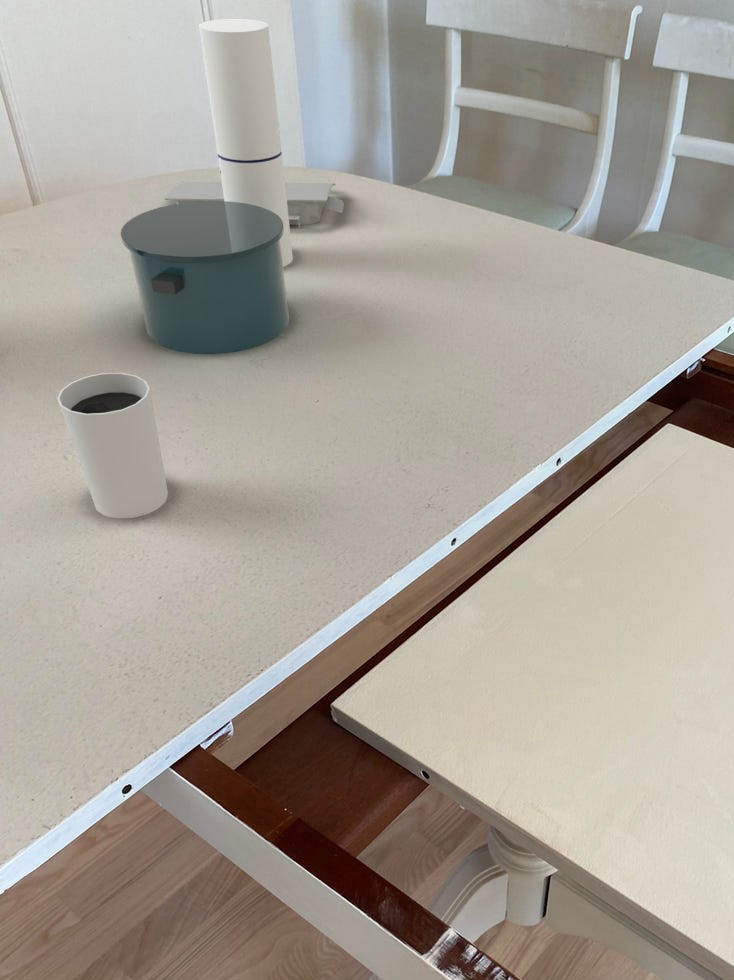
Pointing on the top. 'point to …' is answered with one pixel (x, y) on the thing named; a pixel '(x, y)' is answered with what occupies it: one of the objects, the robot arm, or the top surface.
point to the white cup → (116, 442)
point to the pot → (209, 275)
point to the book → (301, 197)
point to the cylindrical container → (246, 116)
